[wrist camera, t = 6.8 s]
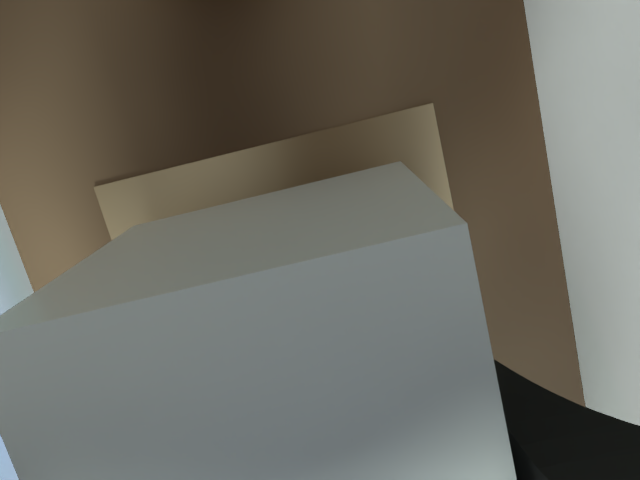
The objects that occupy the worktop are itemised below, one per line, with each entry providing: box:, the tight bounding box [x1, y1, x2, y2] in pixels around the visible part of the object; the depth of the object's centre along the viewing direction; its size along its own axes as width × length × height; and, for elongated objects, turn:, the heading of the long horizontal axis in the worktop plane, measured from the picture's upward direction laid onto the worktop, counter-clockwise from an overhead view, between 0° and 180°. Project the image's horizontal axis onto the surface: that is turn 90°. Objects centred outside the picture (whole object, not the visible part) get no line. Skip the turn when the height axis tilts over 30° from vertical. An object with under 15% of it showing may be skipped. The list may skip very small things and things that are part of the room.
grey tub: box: [0, 161, 517, 480], centre depth 10 cm, size 6×9×6 cm, turn 14°
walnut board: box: [0, 0, 585, 407], centre depth 13 cm, size 12×24×1 cm, turn 14°
